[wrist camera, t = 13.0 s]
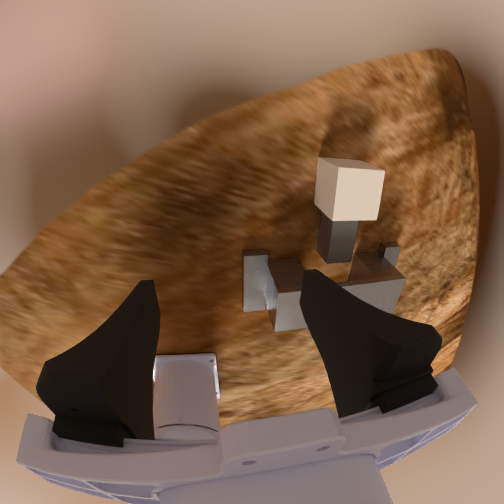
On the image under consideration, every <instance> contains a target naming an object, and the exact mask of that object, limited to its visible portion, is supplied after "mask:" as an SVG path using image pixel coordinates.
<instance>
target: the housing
mask: <svg viewBox="0 0 504 504" xmlns="http://www.w3.org/2000/svg"><path fill="white" fill-rule="evenodd" d="M400 249H401V246H400V245H399V244H397V243H396V242H390V243H381V245H380V250H379V252H367V253H355V254H354V259H353V263H352V267H351V272H350V276H349V280H348V282H339V283H337V284H338V285H339V286H341V287H342V288H344V289H345V290H347V291H348V292H350V293H351V294H353V295H355V296H356V297H358V298H359V299H361V300H363V301H365V302H366V303H368V304H370V305H372V306H374V307H376V308H378V309H380V310H383V311H385V312H388V313H393V312H394V309H395V306H396V304H397V301H398V299H399V296H400V293H401V290H402V288H403V285H404V282H405V279H406V278H405V277H404V276H403V275H402V274H401V273H400V272H399V271H398V270H397V269H396V268H395V266H396V263H397V259H398V256H399V252H400ZM304 270H305V269H304V268H303V266H302V264H301V262H300V261H299V259H298V257H294V258H278V259H268V254H267V252H266V249H263V250H245V251H243V258H242V307H243V311H244V312H247V311H258V310H265V303H266V306H267V310H268V313H269V316H270V319H271V322H272V325H273V328H274V332H276V331H284V330H292V329H300V328H307V324H306V322H305V320H304V317H303V314H302V311H301V307H300V304H299V302H300V295H301V289H302V282H303V275H304Z"/></svg>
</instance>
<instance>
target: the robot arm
mask: <svg viewBox="0 0 504 504" xmlns="http://www.w3.org/2000/svg"><path fill="white" fill-rule="evenodd" d="M299 304H300V307H301V311H302V314H303V317H304V320H305V322H306V324H307V327H308V329H309V331H310V333H311V335H312V337H313V339H314V341H315V343H316V346H317V348H318V350H319V352H320V354H321V357H322V359H323V362H324V365H325V368H326V371H327V374H328V377H329V381H330V384H331V388H332V391H333V395H334V399H335V404H336V408H337V413H338V415H337V413H336V411H333V410H330V409H327V408H322V409H313V410H308V411H303V412H298V413H293V414H287V415H281V416H275V417H269V418H262V419H254V420H246V421H242V422H237V423H232V424H230V425H228V426H226V427H224V428H222V429H221V430H220V422H219V414H218V405H217V399H218V398H220V390H219V381H218V372H217V363H216V355H215V354H213V353H206V354H188V355H156V350H157V344H158V338H159V332H160V310H159V305H158V301H157V296H156V291H155V286H154V281H153V280H141V281H140V282H139V283H138V285H137V286H136V287H135V288H134V289H133V291H132V292H131V293H130V294H129V296H128V297H127V298H126V299H125V301H124V302H123V303H122V304H121V305H120V307H119V308H118V309H117V310H116V311H115V312H114V313H113V314H112V315H111V316H110V317H109V318H108V319H107V320H106V321H105V322H104V323H103V324H102V325H101V326H100V327H99V328H98V329H97V330H95V331H94V332H93V333H92V334H90V335H89V336H88V337H86V338H85V339H84V340H83V341H81V342H80V343H78V344H77V345H75V346H74V347H72V348H70V349H69V350H67V351H65V352H64V353H62V354H60V355H58V356H56V357H54V358H52V359H50V360H48V361H46V362H45V363H44V366H43V368H42V371H41V374H40V376H39V379H38V382H37V385H36V390H37V393H38V395H39V397H40V398H41V399H42V401H43V402H44V403H45V404H46V405H47V406H48V408H49V409H50V410H51V411H52V412H53V413H54V414H55V415H56V416H55V420H54V422H53V421H52V420H50V419H48V418H45V417H40V416H37V415H33V414H27V418H26V421H25V425H24V429H23V432H22V437H21V441H20V445H19V450H18V455H17V459H16V461H17V462H18V463H19V464H20V465H22V466H23V467H25V468H27V469H28V470H29V471H31V472H33V473H34V474H36V475H37V476H39V477H41V478H42V479H44V480H46V481H47V482H49V483H52V484H56V485H59V486H62V487H65V488H68V489H72V490H75V491H79V492H82V493H86V494H90V495H94V496H98V497H102V498H106V499H111V500H115V501H121V502H126V503H132V504H393V503H392V500H391V498H390V495H389V493H388V490H387V488H386V486H385V483H384V481H383V478H382V476H381V473H380V471H379V470H380V469H383V468H384V467H387V466H389V465H391V464H393V463H395V462H396V461H399V460H401V459H403V458H404V457H406V456H408V455H410V454H412V453H413V452H415V451H417V450H419V449H421V448H422V447H424V446H425V445H428V444H429V443H431V442H433V441H434V440H436V439H437V438H439V437H441V436H443V435H444V434H446V433H447V432H449V431H451V430H452V429H453V428H454V427H455V426H456V425H457V424H458V423H459V422H460V421H461V420H462V419H463V418H464V417H465V416H466V415H467V414H468V413H469V412H470V411H471V410H472V409H473V408H474V407H475V406H476V405H477V404H478V402H477V400H476V399H475V397H474V396H473V394H472V393H471V391H470V390H469V388H468V387H467V385H466V384H465V382H464V381H463V379H462V378H461V377H460V375H459V374H458V373H457V371H456V370H455V368H451V369H449V370H447V371H445V372H443V373H440V374H439V375H437V376H436V377H435V378H433V376H432V375H431V373H432V372H433V369H432V367H431V366H430V364H431V363H432V361H433V360H434V358H435V356H436V355H437V353H438V351H439V350H440V348H441V344H442V337H441V336H440V335H439V333H438V332H437V331H436V330H435V328H434V327H433V326H432V325H428V324H424V323H419V322H414V321H411V320H407V319H404V318H401V317H398V316H395V315H392V314H390V313H388V312H385V311H383V310H380V309H378V308H376V307H374V306H372V305H370V304H368V303H366V302H365V301H363V300H361V299H359V298H358V297H356V296H355V295H353V294H351V293H350V292H348V291H347V290H345V289H344V288H342V287H341V286H339V285H338V284H337V283H335V282H334V281H332V280H331V279H330V278H328V277H327V276H325V275H324V274H323V273H321V272H320V271H318V270H316V269H313V270H304V275H303V282H302V289H301V295H300V302H299ZM153 380H154V382H155V384H154V398H153Z"/></svg>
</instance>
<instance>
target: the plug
mask: <svg viewBox="0 0 504 504" xmlns="http://www.w3.org/2000/svg"><path fill="white" fill-rule="evenodd" d="M384 174H385V171H384V170H382V169H380V168H377V167H375V166H373V165H370V164H368V163H366V162H363V161H361V160H351V159H338V158H322V157H318V164H317V176H316V188H315V198H314V204H315V205H316V206H317V207H318V208H319V209H320V210H321V211H322V213H321V222H320V230H319V237H318V245H317V251H318V253H319V254H320V255H321V257H322V258H323V260H324V261H325V262H326V264H329V263H341V262H351V259H352V254H353V249H354V244H355V239H356V234H357V228H358V223H359V220H377V216H378V211H379V205H380V200H381V194H382V188H383V181H384Z"/></svg>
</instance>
